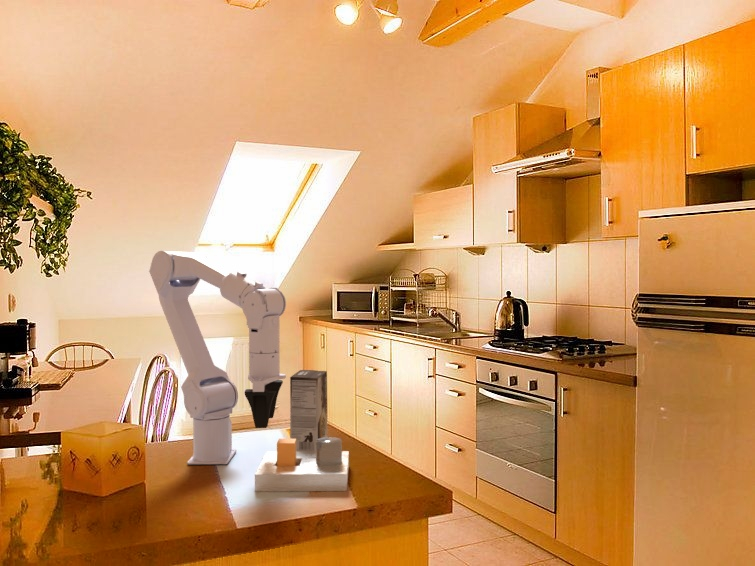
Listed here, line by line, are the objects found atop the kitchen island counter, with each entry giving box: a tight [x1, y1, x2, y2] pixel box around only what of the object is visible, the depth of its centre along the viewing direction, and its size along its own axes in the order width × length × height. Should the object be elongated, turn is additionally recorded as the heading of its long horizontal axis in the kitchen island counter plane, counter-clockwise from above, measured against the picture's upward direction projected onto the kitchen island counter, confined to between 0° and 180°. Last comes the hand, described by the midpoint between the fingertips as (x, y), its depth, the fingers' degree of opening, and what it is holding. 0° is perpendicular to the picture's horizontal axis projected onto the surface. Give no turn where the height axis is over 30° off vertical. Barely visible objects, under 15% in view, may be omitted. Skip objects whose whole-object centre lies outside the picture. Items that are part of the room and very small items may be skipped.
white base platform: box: [254, 436, 350, 492], centre depth 120 cm, size 14×16×7 cm
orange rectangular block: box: [276, 438, 296, 466], centre depth 119 cm, size 3×3×7 cm
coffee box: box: [289, 369, 328, 451], centre depth 140 cm, size 9×6×16 cm
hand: (264, 422), depth 123 cm, fingers open, 7 cm apart
